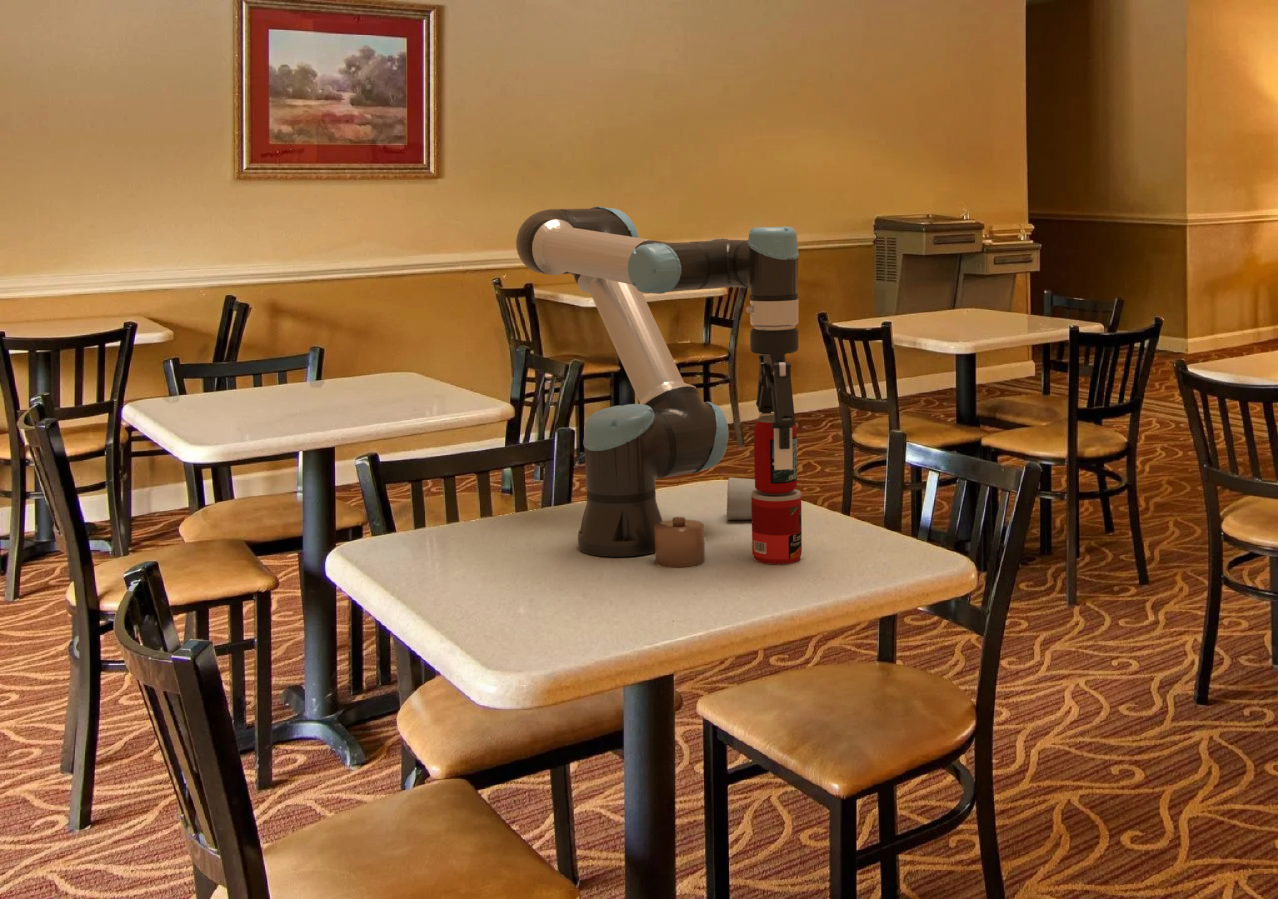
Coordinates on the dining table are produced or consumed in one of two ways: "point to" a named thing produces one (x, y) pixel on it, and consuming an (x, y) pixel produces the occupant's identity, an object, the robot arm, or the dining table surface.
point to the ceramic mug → (739, 498)
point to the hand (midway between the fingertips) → (775, 460)
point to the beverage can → (772, 460)
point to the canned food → (776, 527)
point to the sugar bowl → (679, 543)
